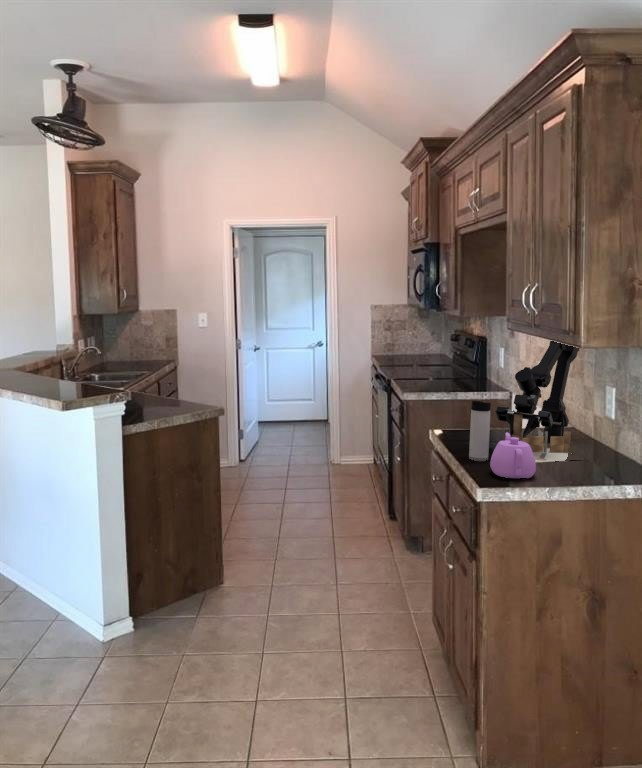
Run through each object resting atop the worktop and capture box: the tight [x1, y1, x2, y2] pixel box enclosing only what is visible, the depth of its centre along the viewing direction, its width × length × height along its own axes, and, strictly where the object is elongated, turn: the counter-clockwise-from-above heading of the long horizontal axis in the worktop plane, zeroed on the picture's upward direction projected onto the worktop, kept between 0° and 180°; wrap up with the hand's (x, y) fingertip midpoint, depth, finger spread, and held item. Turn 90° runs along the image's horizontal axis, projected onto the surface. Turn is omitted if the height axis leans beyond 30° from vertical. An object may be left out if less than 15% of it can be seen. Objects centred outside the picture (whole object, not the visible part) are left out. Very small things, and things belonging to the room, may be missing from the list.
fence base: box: [543, 430, 572, 453], centre depth 250 cm, size 9×3×8 cm, turn 104°
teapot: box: [489, 432, 537, 479], centre depth 219 cm, size 20×13×12 cm, turn 177°
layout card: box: [533, 447, 568, 464], centre depth 247 cm, size 21×18×1 cm
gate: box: [512, 414, 544, 452], centre depth 247 cm, size 12×3×13 cm, turn 111°
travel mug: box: [468, 400, 492, 462], centre depth 238 cm, size 6×7×20 cm
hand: (517, 436), depth 244 cm, fingers open, 4 cm apart
